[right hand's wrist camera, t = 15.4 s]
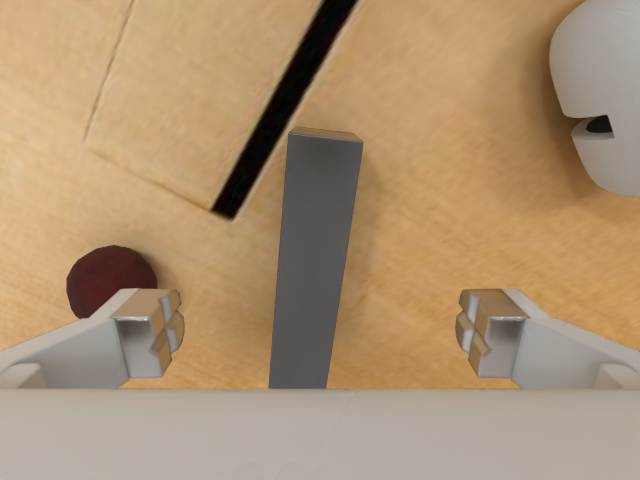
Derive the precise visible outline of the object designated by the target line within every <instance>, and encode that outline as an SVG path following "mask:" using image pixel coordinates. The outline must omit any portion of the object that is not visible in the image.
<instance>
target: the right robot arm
mask: <svg viewBox="0 0 640 480" xmlns="http://www.w3.org/2000/svg"><path fill="white" fill-rule="evenodd" d="M180 304H181V300H180V295H179V292H178V291H177V290H176V289H140V288H133V289H120V290H119V291H118V292H117V293H116V294H115V295H114V296H112V297H111V298H110V299H109V300H108V301H107V302H106V303H105V304H104V305H103V306H101V307H100V308H99V309H98V310H97V311H96V312H95V313H94V314H93V315H91V316H90V317H89V318H82V319H80V320H77V321H75V322H72V323H70V324H67V325H65V326H62V327H60V328H57V329H55V330H52V331H50V332H47V333H45V334H42V335H40V336H37V337H35V338H32V339H30V340H27V341H25V342H22V343H20V344H17V345H15V346H12V347H9V348H7V349H4V350H2V351H0V480H640V351H638V350H635V349H633V348H630V347H628V346H625V345H623V344H620V343H618V342H615V341H613V340H610V339H608V338H605V337H603V336H600V335H598V334H595V333H593V332H590V331H588V330H585V329H583V328H580V327H578V326H575V325H573V324H570V323H568V322H565V321H563V320H560V319H558V318H551V317H550V316H549V315H547V314H546V313H545V312H544V311H543V310H542V309H541V308H540V307H539V306H538V305H536V304H535V303H534V302H533V301H532V300H531V299H530V298H529V297H528V296H527V295H525V294H524V293H523V292H522V291H521V290H520V289H516V288H510V289H466V290H462V292H461V295H460V299H459V304H460V306H461V308H462V309H463V311H462V312H461V313H460V314H459V315H458V316H457V318H456V326H455V329H456V337H457V341H458V344H459V345H460V347H461V349H462V350H464V351H465V352H467V353H468V354H469V358H468V361H469V363H470V364H471V366H472V368H473V369H474V371H475V373H476V374H477V376H478V378H511V380H512V381H513V382H515V383H516V384H517V385H519V386H520V387H521V388H523V389H117V388H119V387H120V386H122V385H123V384H124V383H126V382H127V381H128V380H129V378H161V377H162V376H163V375H164V373H165V371H166V369H167V368H168V366H169V364H170V363H171V361H172V358H171V354H172V353H173V352H175V351H176V350H178V349H179V347H180V345H181V343H182V341H183V336H184V318H183V316H182V315H181V314H180V313H179V312H178V311H177V309H178V308H179V306H180Z"/></svg>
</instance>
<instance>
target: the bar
mask: <svg viewBox="0 0 640 480" xmlns="http://www.w3.org/2000/svg"><path fill="white" fill-rule="evenodd" d="M363 143H364V142H363V141H362V140H361V139H359V138H358V137H357V136H356V135H355V134H353V133H346V132H338V131H329V130H321V129H312V128H304V127H295V128H294V129H293V130H292V131H291V132H289V134H288V146H287V159H286V172H285V184H284V197H283V210H282V222H281V235H280V248H279V260H278V273H277V286H276V299H275V311H274V324H273V337H272V349H271V362H270V375H269V387H268V389H326V385H327V378H328V372H329V365H330V359H331V352H332V346H333V339H334V333H335V326H336V320H337V313H338V306H339V300H340V293H341V287H342V280H343V274H344V267H345V261H346V254H347V248H348V241H349V234H350V228H351V221H352V215H353V208H354V202H355V195H356V189H357V182H358V175H359V169H360V162H361V156H362V149H363Z"/></svg>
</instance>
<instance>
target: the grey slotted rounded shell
mask: <svg viewBox="0 0 640 480" xmlns="http://www.w3.org/2000/svg"><path fill="white" fill-rule="evenodd" d="M549 64H550V70H551V76H552V79H553V83H554V87H555V90H556V93H557V97H558V100H559V103H560V105H561V108H562V111H563V114H564V115H566V116H568V117H573V118H585V117H587V118H586V119H584V120H583V121H581V122H580V123H578V124H577V125H576V126H575V127H574V128H573V130H572V132H571V136H572V139H573V142H574V145H575V147H576V150H577V152H578V155H579V157H580V160H581V162H582V164H583V166H584V168H585V170H586V172H587V173H588V175H589V176H590V178H591V179H592V180H593V181H594V182H595V183H596V184H597V185H598V186H600V187H601V188H603V189H604V190H606V191H608V192H611V193H613V194H617V195H621V196H627V197H640V0H586V1H584V2H583V3H582V4H580V5H579V6H578V7H577V8H575V9H574V10H573V11H572V12H571V13H570V14H568V15H567V16H566V17H565V19H564V20H563V21H562V22H561V23H560V24H559V26H558V27H557V29H556V31H555V32H554V35H553V37H552V40H551V45H550V51H549Z"/></svg>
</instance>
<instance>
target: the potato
mask: <svg viewBox="0 0 640 480" xmlns="http://www.w3.org/2000/svg"><path fill="white" fill-rule="evenodd" d="M133 288H140V289H157V278H156V276H155V274H154V272H153V270H152V268H151V266H150V265H149V263H148V262H147V261H146V260H145V259H144V258H143V257H142V256H141V255H140V254H139V253H137V252H135V251H133V250H132V249H130V248H125V247H120V246H116V245H112V246H107V247H102V248H98V249H95V250H93V251H92V252H90V253H88V254H87V255H85V256H83V257H82V258H80V259H79V260H78V261H77V262H76V263H75V264H74V266H73V267H72V269H71V271H70V273H69V275H68V277H67V295H68V299H69V302H70V306H71V309H72V311H73V312H74V314H75V316H77V317H78V318H79V319H82V318H89V317H90V316H91V315H93V314H94V313H95V312H96V311H97V310H98V309H99V308H100V307H101V306H103V305H104V304H105V303H106V302H107V301H108V300H109V299H110V298H111V297H112V296H114V295H115V294H116V293H117V292H118V291H119V290H120V289H133Z"/></svg>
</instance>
